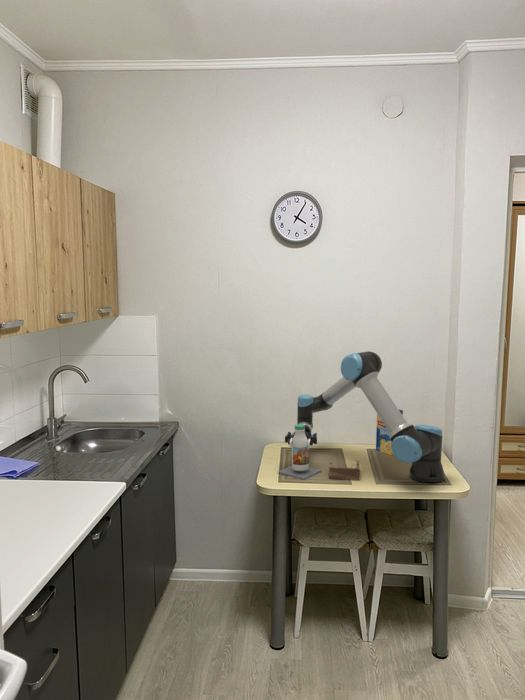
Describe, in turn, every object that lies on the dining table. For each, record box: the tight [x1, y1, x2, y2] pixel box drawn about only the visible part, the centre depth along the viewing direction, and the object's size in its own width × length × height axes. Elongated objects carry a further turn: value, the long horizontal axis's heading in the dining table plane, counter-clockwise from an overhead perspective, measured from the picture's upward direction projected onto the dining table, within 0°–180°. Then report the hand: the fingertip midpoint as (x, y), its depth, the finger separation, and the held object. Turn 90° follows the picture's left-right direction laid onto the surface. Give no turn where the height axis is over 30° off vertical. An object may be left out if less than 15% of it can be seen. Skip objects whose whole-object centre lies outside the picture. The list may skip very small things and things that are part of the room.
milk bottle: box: [291, 423, 310, 471], centre depth 259 cm, size 8×8×20 cm
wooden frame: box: [328, 458, 360, 481], centre depth 257 cm, size 12×13×5 cm
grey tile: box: [277, 465, 322, 481], centre depth 261 cm, size 14×14×1 cm
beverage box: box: [375, 408, 404, 456], centre depth 292 cm, size 7×11×22 cm, turn 38°
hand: (299, 445), depth 254 cm, fingers closed on milk bottle, 7 cm apart
